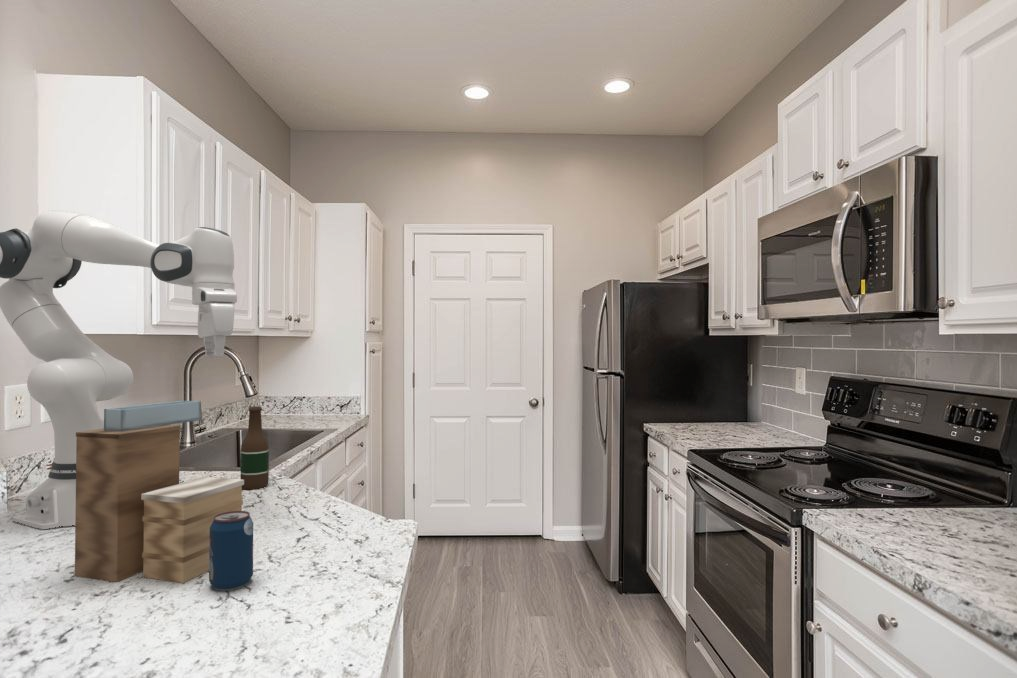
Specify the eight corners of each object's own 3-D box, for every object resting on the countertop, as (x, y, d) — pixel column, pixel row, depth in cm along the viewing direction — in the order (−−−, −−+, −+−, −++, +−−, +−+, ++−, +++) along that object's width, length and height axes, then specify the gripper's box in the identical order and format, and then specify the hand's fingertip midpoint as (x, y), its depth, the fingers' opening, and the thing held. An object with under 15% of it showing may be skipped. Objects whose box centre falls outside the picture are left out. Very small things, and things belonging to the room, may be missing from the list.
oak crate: (140, 577, 103) (141, 493, 103) (204, 550, 117) (205, 476, 117) (183, 583, 100) (183, 497, 100) (243, 555, 114) (244, 479, 114)
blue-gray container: (103, 430, 106) (104, 409, 106) (183, 419, 124) (184, 400, 124) (122, 431, 105) (122, 409, 105) (200, 419, 122) (200, 401, 122)
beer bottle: (258, 491, 166) (258, 408, 166) (234, 489, 167) (235, 407, 168) (274, 484, 174) (274, 405, 174) (251, 483, 175) (252, 405, 176)
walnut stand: (73, 575, 104) (75, 432, 104) (138, 551, 116) (139, 423, 117) (117, 582, 101) (119, 434, 101) (179, 556, 113) (180, 425, 114)
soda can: (261, 579, 102) (262, 511, 102) (231, 594, 96) (231, 522, 96) (231, 574, 104) (231, 508, 105) (199, 589, 98) (200, 518, 98)
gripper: (190, 300, 140) (191, 357, 139) (207, 292, 124) (208, 356, 123) (218, 301, 144) (219, 356, 143) (239, 293, 128) (239, 355, 127)
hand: (214, 356), depth 133 cm, fingers open, 8 cm apart
